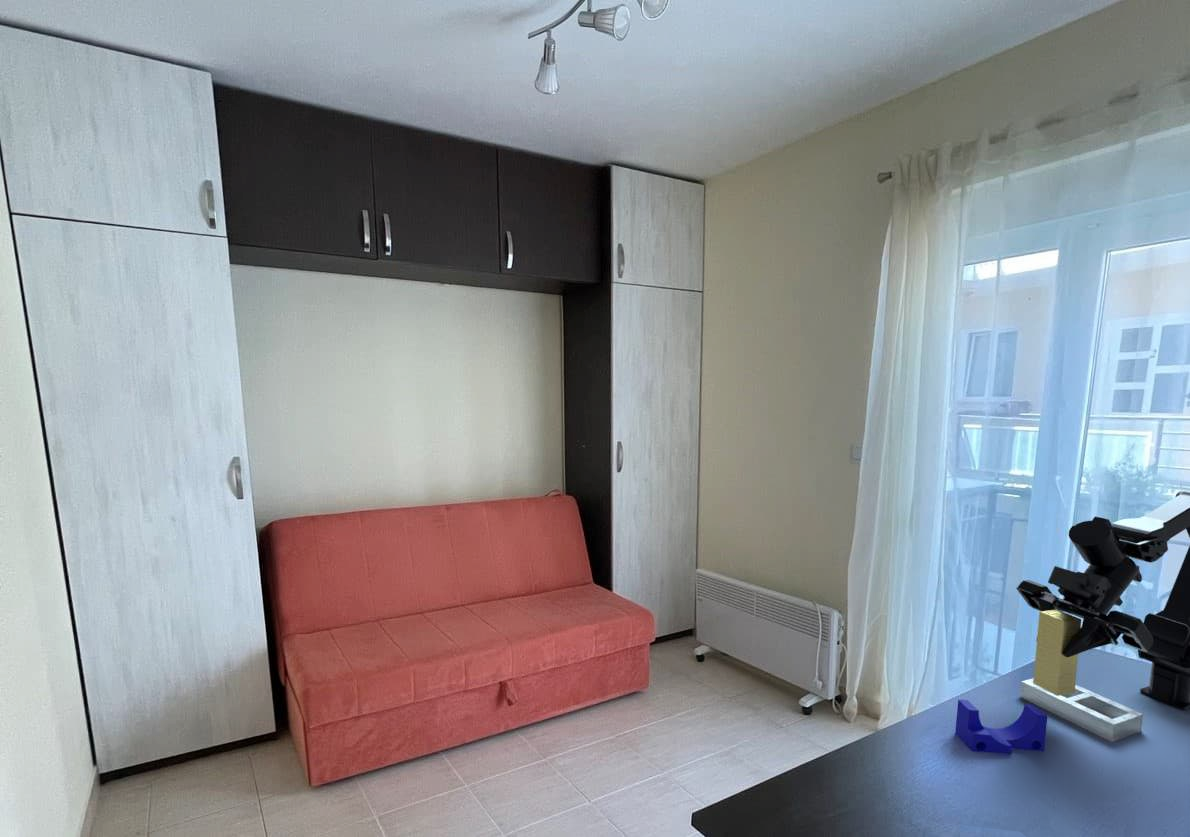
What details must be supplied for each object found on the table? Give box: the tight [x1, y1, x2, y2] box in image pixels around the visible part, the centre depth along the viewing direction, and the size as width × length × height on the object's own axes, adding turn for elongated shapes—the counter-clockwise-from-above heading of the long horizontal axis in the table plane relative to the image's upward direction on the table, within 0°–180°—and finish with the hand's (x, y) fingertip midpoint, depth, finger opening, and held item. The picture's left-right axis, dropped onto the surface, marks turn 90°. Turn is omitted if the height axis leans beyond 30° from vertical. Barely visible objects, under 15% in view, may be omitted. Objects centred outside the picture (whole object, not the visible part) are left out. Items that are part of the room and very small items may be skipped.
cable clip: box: [954, 699, 1048, 755], centre depth 90 cm, size 12×4×6 cm, turn 86°
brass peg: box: [1033, 610, 1082, 696], centre depth 97 cm, size 4×4×13 cm
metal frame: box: [1019, 677, 1144, 743], centre depth 101 cm, size 9×14×3 cm, turn 23°
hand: (1051, 649), depth 97 cm, fingers closed on brass peg, 4 cm apart
